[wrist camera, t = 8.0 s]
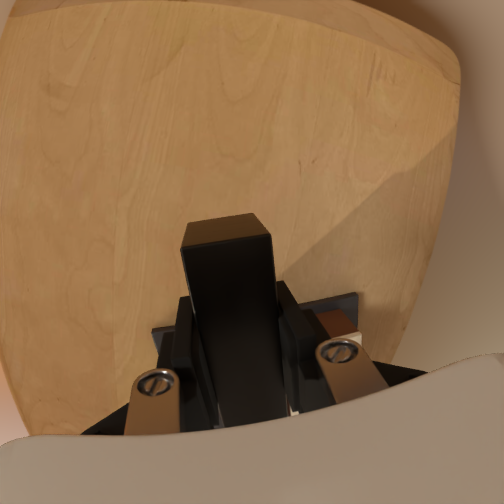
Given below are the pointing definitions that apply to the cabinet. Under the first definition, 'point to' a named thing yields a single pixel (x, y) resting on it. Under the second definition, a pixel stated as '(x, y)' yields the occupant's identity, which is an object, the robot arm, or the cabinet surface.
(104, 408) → the cabinet surface
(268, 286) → the cake knife
